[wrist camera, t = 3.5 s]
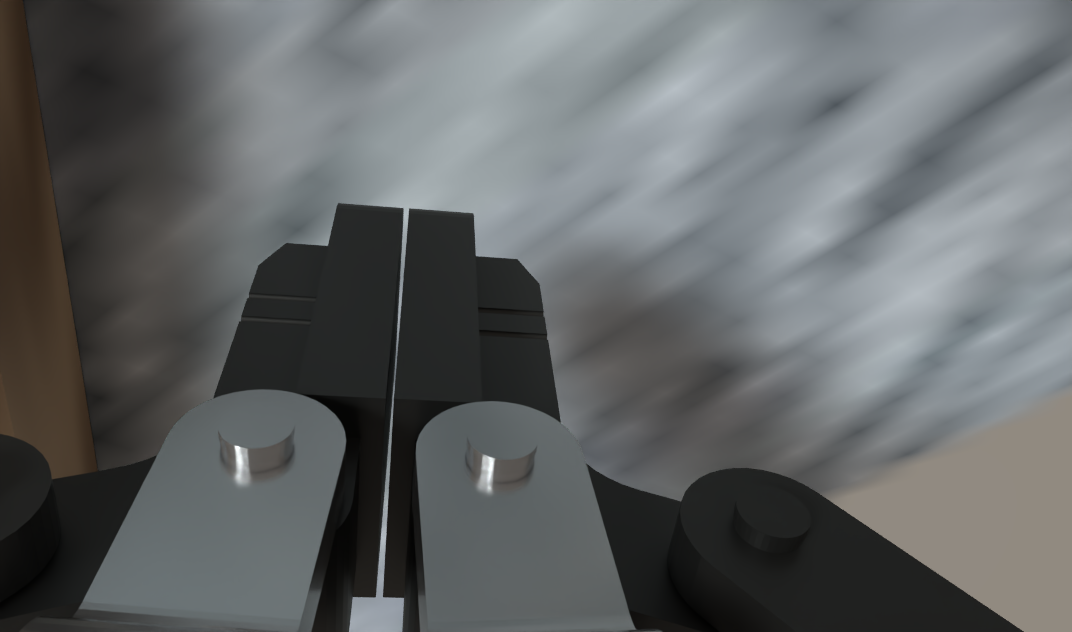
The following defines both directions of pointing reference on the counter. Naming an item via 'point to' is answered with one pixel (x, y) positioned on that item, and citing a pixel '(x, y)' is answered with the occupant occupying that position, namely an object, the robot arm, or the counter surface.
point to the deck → (34, 277)
